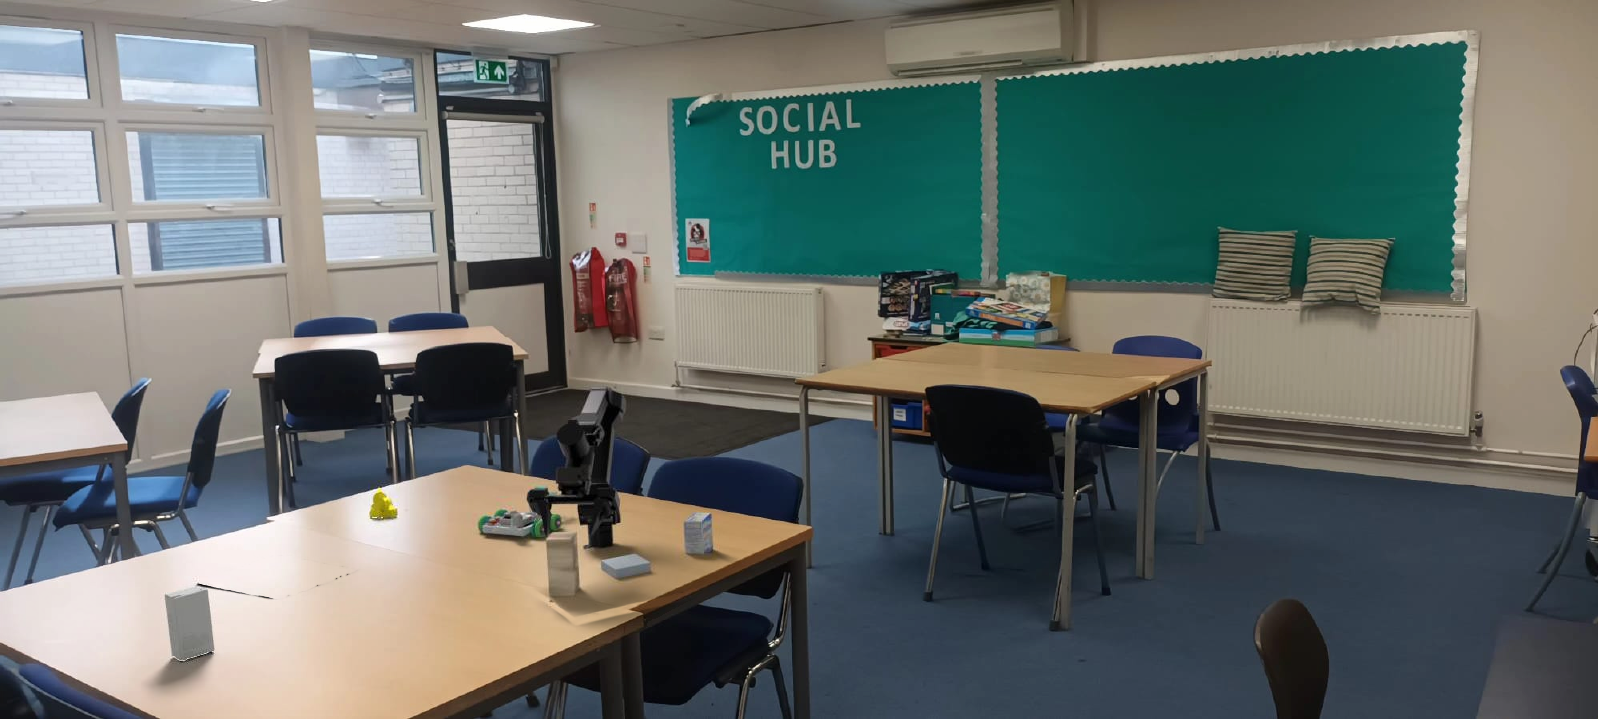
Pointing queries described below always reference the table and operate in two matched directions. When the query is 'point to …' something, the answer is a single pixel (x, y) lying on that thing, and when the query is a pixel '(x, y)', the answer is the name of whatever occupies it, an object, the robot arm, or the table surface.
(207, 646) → the skincare box
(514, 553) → the table surface
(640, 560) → the tower top slab
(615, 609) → the table surface
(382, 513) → the yellow lumpy cone
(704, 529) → the medicine box
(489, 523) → the robot kit
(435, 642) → the table surface
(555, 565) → the tall beech block
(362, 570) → the table surface
